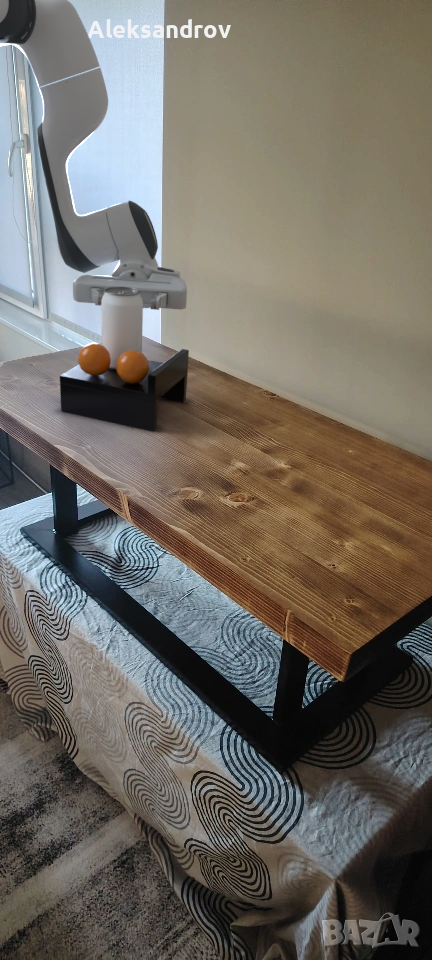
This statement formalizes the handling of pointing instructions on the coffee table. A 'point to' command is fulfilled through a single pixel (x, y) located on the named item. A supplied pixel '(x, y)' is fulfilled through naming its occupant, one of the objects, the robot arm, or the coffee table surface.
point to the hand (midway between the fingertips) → (127, 302)
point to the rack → (122, 386)
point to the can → (121, 321)
